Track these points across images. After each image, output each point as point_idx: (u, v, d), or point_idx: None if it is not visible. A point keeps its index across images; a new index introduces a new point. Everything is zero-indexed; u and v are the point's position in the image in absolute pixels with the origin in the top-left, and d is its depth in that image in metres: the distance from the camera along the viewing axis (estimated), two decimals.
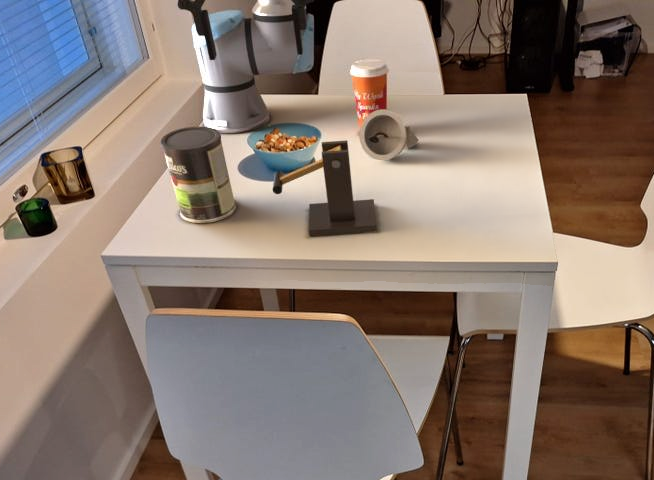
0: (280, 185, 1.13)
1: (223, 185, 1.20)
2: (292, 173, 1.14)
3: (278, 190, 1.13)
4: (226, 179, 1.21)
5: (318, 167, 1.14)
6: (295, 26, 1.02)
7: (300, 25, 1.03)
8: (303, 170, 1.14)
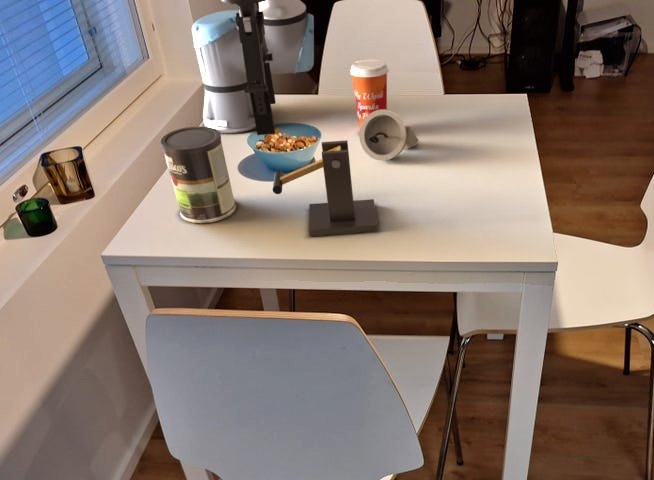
0: (280, 185, 1.13)
1: (223, 185, 1.20)
2: (292, 173, 1.14)
3: (278, 190, 1.13)
4: (226, 179, 1.21)
5: (318, 167, 1.14)
6: None
7: (257, 109, 1.01)
8: (303, 170, 1.14)
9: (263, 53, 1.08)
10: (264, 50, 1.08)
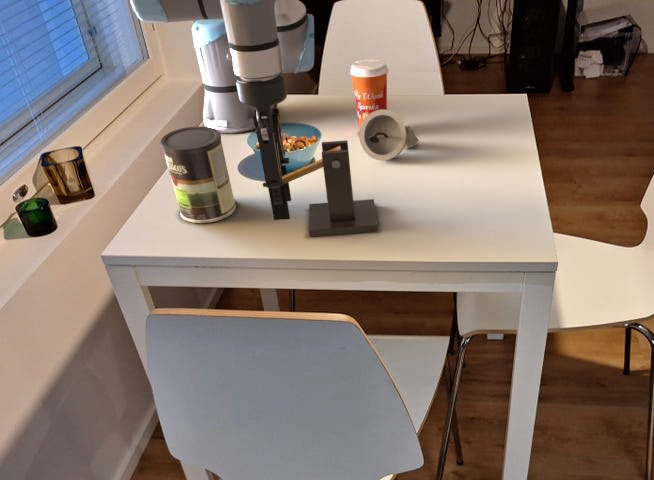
0: None
1: (223, 185, 1.20)
2: (292, 173, 1.14)
3: None
4: (226, 179, 1.21)
5: (318, 167, 1.14)
6: (270, 197, 1.13)
7: None
8: (303, 170, 1.14)
9: (279, 154, 1.15)
10: (280, 150, 1.15)
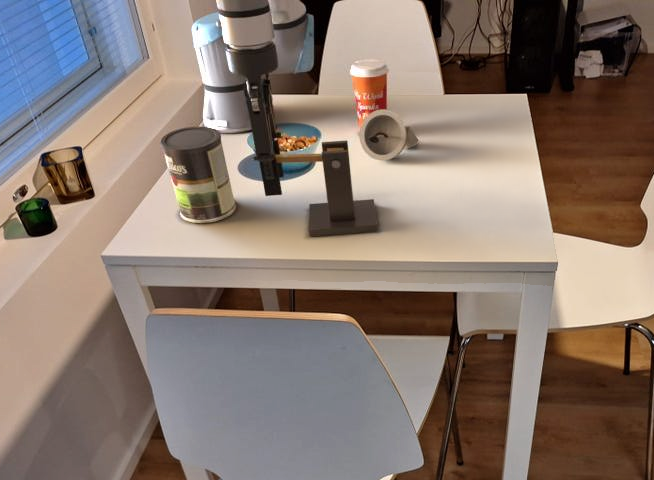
0: None
1: (223, 185, 1.20)
2: (288, 156, 1.12)
3: None
4: (226, 179, 1.21)
5: (315, 160, 1.13)
6: None
7: (265, 173, 1.10)
8: (300, 157, 1.12)
9: (271, 128, 1.12)
10: (272, 124, 1.12)
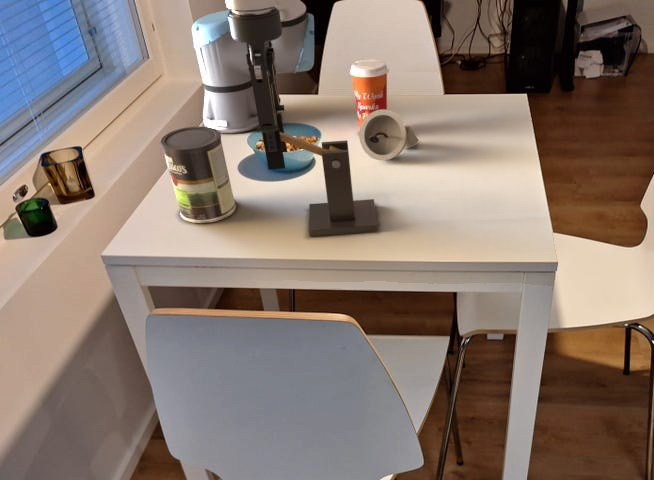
0: None
1: (223, 185, 1.20)
2: (291, 137, 1.10)
3: None
4: (226, 179, 1.21)
5: (316, 152, 1.12)
6: (264, 144, 1.08)
7: (268, 146, 1.07)
8: (302, 143, 1.11)
9: (274, 100, 1.09)
10: (275, 96, 1.09)
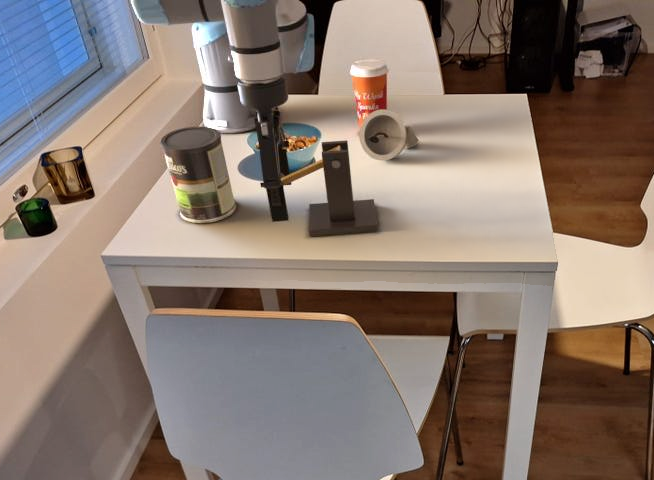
0: None
1: (223, 185, 1.20)
2: (292, 174, 1.15)
3: None
4: (226, 179, 1.21)
5: (318, 167, 1.14)
6: (268, 198, 1.10)
7: (272, 200, 1.09)
8: (303, 171, 1.14)
9: (280, 142, 1.17)
10: (281, 140, 1.16)
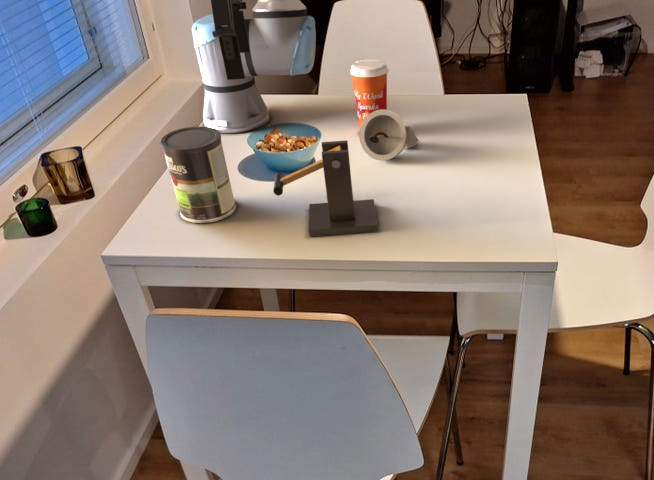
0: (281, 186, 1.13)
1: (223, 185, 1.20)
2: (292, 174, 1.15)
3: (279, 191, 1.13)
4: (226, 179, 1.21)
5: (318, 167, 1.14)
6: (222, 52, 1.05)
7: None
8: (303, 171, 1.14)
9: (236, 1, 1.12)
10: None
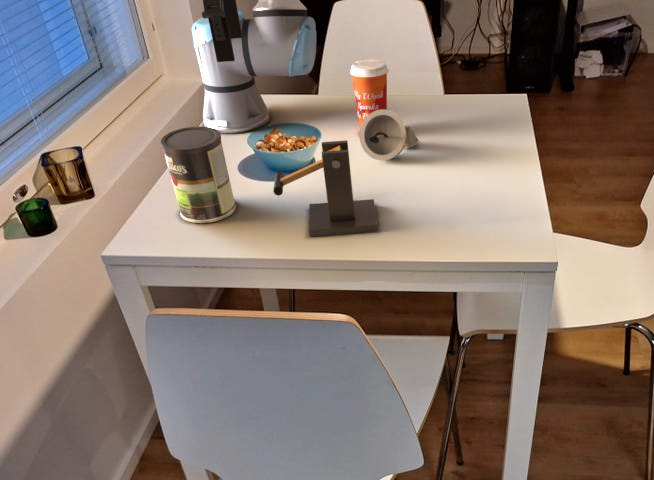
0: (281, 186, 1.13)
1: (223, 185, 1.20)
2: (292, 174, 1.15)
3: (279, 191, 1.13)
4: (226, 179, 1.21)
5: (318, 167, 1.14)
6: (211, 33, 1.05)
7: None
8: (303, 171, 1.14)
9: None
10: None
